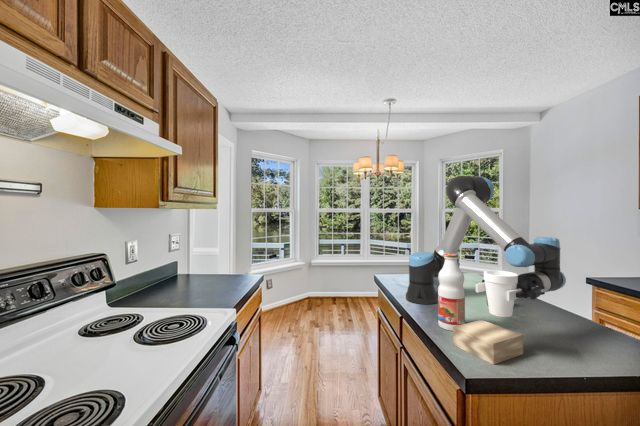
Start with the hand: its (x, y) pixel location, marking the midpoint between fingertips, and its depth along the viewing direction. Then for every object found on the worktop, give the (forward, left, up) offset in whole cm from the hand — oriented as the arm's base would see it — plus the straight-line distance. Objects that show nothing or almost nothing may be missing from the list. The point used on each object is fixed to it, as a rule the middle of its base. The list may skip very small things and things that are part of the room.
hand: (491, 292), depth 93 cm
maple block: (-1, 0, -19) cm, 19 cm away
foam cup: (0, +4, -8) cm, 9 cm away
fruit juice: (-19, +5, -19) cm, 27 cm away
